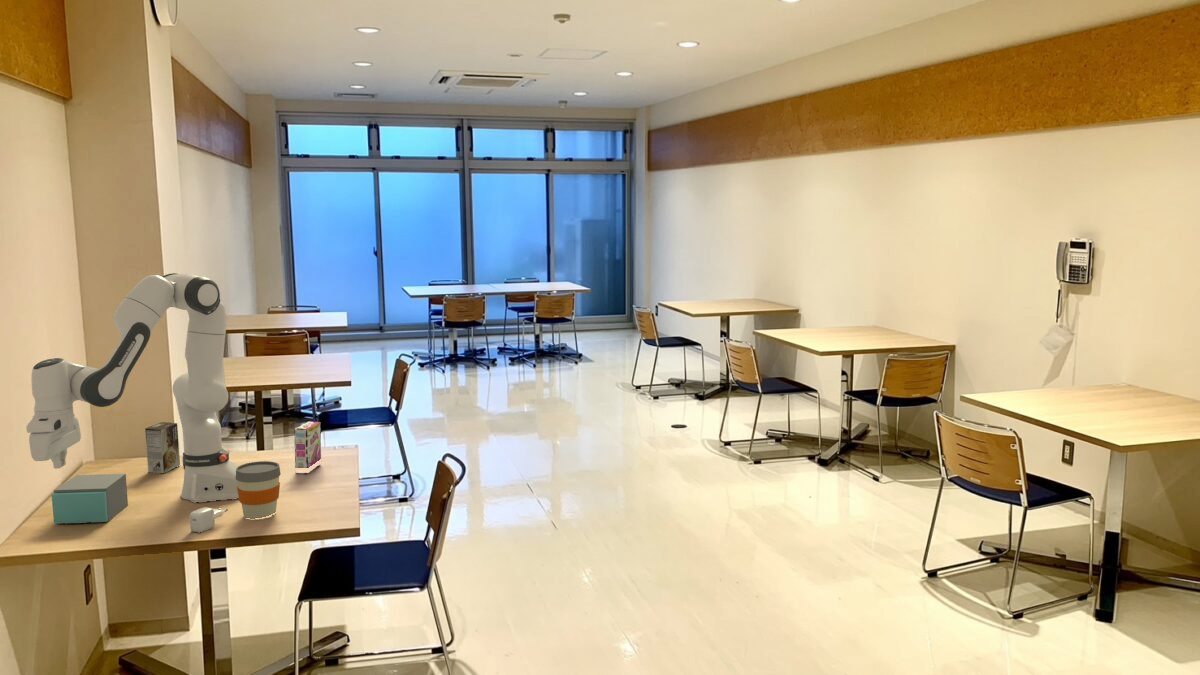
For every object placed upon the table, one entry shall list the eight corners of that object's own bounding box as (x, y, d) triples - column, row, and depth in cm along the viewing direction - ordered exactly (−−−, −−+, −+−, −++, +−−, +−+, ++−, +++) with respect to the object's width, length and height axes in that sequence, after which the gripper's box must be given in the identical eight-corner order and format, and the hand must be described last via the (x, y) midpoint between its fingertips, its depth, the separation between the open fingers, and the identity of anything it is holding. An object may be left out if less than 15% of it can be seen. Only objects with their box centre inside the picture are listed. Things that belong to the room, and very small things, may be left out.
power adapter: (218, 518, 244) (217, 499, 243) (231, 521, 243) (230, 502, 242) (188, 531, 234) (186, 512, 233) (201, 534, 232) (200, 514, 231)
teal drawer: (125, 505, 252) (123, 477, 251) (106, 521, 239) (104, 492, 237) (76, 507, 250) (74, 479, 249) (53, 523, 236) (51, 494, 235)
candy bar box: (308, 474, 287) (306, 429, 285) (294, 474, 287) (293, 428, 285) (322, 465, 298) (320, 421, 296) (309, 464, 298) (307, 420, 296)
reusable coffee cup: (232, 513, 249) (230, 465, 247) (275, 504, 257) (273, 458, 254) (243, 525, 239) (241, 476, 237) (287, 516, 247) (285, 468, 245)
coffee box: (164, 465, 295) (161, 421, 292) (180, 466, 294) (178, 422, 291) (147, 472, 286) (144, 428, 283) (164, 474, 285) (161, 428, 283)
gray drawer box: (128, 505, 254) (125, 473, 252) (108, 521, 240) (106, 488, 239) (78, 507, 252) (76, 475, 250) (56, 523, 238) (53, 490, 237)
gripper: (60, 409, 233) (65, 456, 235) (22, 428, 213) (28, 479, 215) (84, 408, 234) (89, 455, 236) (49, 427, 214) (54, 478, 216)
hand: (59, 467), depth 226 cm, fingers closed
